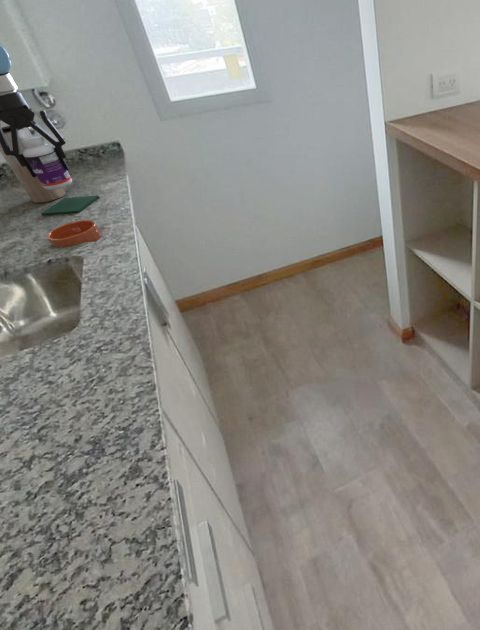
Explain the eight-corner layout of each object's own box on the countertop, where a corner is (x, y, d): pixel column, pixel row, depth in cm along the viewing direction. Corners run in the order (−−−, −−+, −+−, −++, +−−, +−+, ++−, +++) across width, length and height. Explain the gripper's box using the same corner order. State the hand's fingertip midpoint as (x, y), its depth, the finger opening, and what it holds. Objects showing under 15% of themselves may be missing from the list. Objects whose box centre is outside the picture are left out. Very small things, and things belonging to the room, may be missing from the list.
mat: (42, 215, 140) (40, 213, 139) (65, 200, 149) (64, 198, 149) (78, 213, 139) (77, 210, 139) (99, 197, 149) (98, 195, 148)
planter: (29, 205, 147) (-17, 135, 133) (36, 195, 155) (-7, 128, 141) (63, 198, 150) (21, 129, 136) (69, 189, 158) (29, 122, 143)
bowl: (44, 253, 119) (36, 241, 117) (70, 232, 128) (64, 221, 126) (86, 249, 118) (79, 238, 116) (109, 229, 128) (103, 218, 126)
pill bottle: (40, 188, 139) (10, 141, 130) (67, 179, 144) (40, 133, 135) (51, 192, 135) (21, 145, 127) (78, 183, 140) (51, 136, 131)
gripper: (-46, 102, 117) (10, 184, 131) (45, 88, 124) (89, 167, 138) (-40, 97, 122) (13, 177, 136) (47, 84, 130) (89, 161, 144)
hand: (51, 172), depth 137 cm, fingers closed on pill bottle, 8 cm apart
